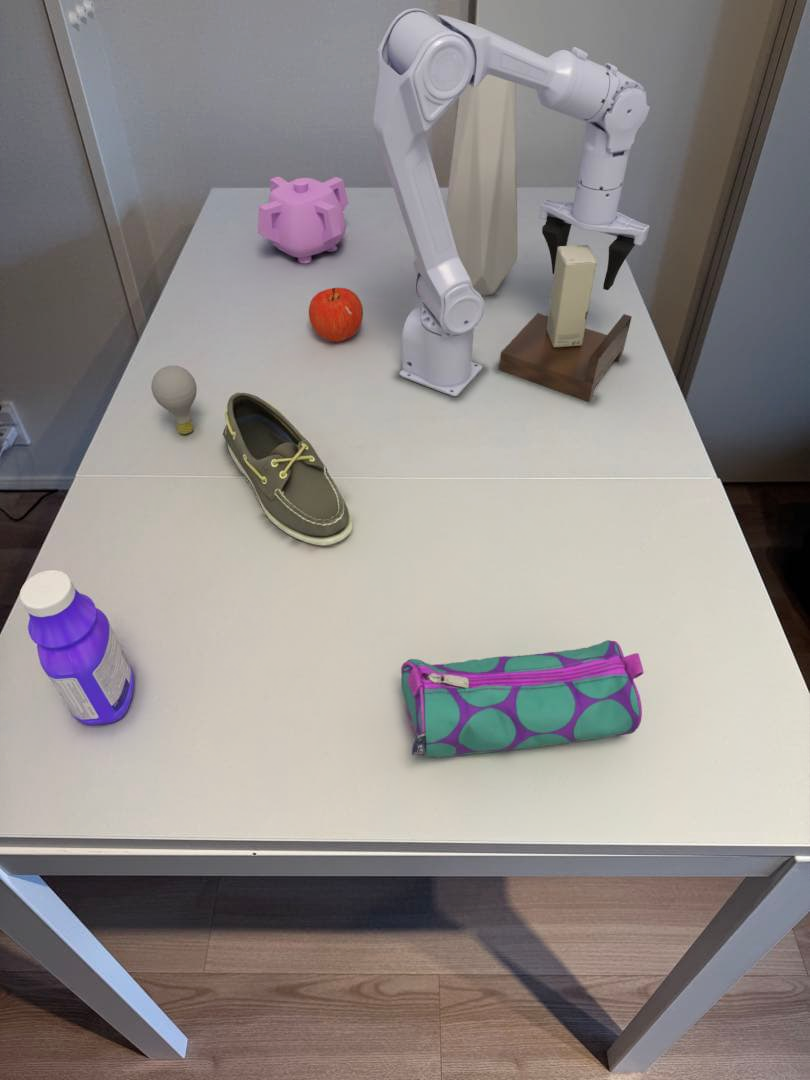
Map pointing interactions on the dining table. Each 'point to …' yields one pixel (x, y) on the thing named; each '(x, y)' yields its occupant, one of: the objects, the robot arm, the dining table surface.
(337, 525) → the boat shoe
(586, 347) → the shelf
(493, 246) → the vase
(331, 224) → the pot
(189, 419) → the light bulb
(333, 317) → the apple
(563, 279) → the box
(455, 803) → the dining table surface
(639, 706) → the pencil case
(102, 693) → the bottle
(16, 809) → the dining table surface
